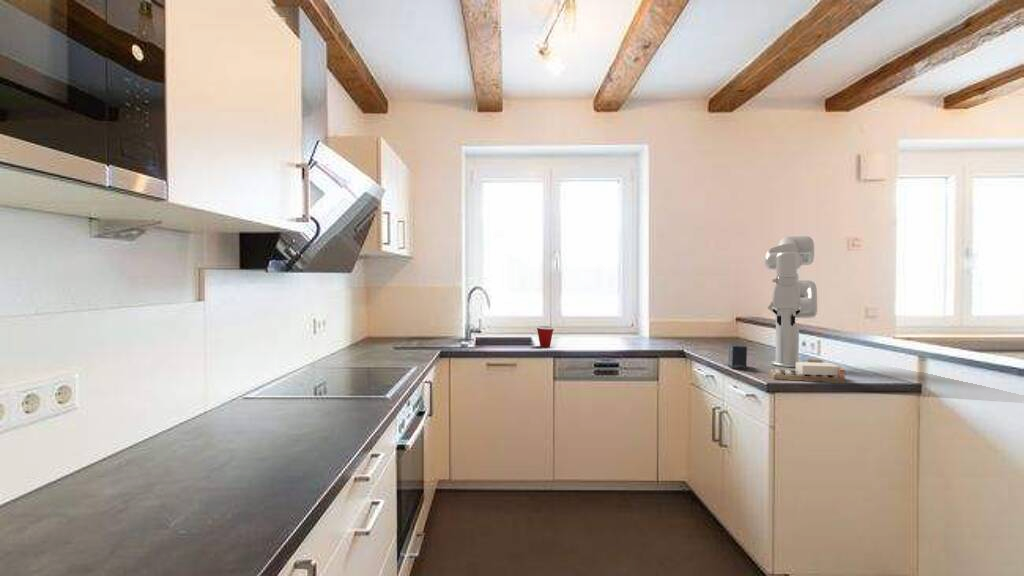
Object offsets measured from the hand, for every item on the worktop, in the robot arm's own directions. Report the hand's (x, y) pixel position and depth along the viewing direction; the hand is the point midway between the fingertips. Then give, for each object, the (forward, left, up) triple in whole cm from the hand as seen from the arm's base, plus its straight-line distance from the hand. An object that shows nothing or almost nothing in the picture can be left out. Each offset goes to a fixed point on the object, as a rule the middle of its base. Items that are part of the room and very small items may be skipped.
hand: (785, 324), depth 216 cm
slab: (+4, +11, -19) cm, 22 cm away
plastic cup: (-47, -120, -21) cm, 131 cm away
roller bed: (+4, +7, -21) cm, 23 cm away
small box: (-13, -18, -22) cm, 31 cm away
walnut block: (-6, +12, -21) cm, 25 cm away
